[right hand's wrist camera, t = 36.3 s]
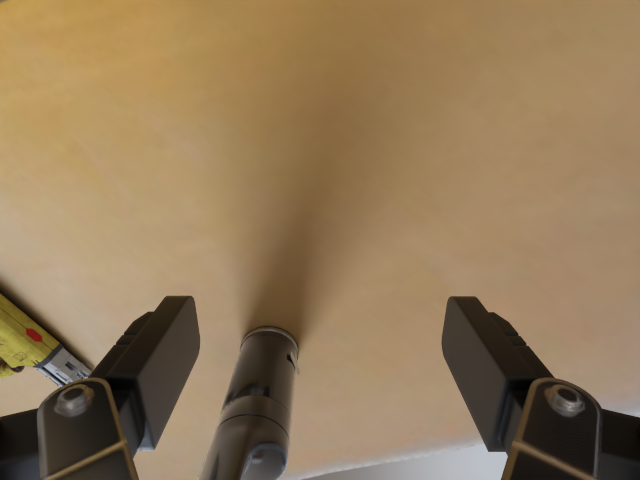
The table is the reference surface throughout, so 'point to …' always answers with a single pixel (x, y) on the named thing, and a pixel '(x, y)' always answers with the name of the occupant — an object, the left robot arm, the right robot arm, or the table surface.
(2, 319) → the toy gun
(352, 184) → the table surface
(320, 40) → the table surface
